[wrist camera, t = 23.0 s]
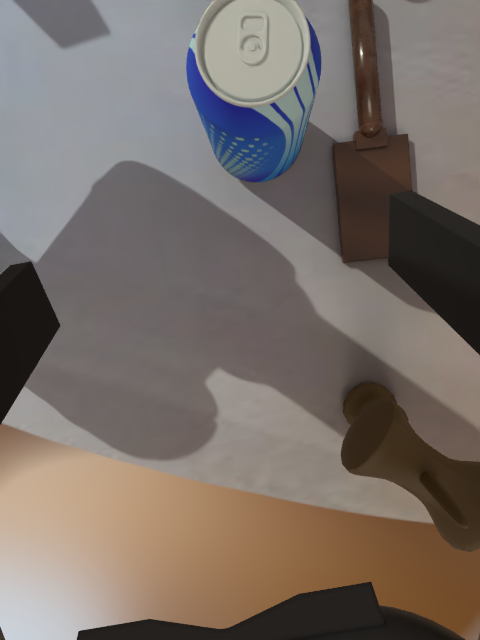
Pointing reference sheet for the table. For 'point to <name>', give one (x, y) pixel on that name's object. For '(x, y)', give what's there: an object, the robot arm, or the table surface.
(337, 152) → the spatula
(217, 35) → the beer can
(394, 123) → the table surface
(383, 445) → the kendama
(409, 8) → the table surface
